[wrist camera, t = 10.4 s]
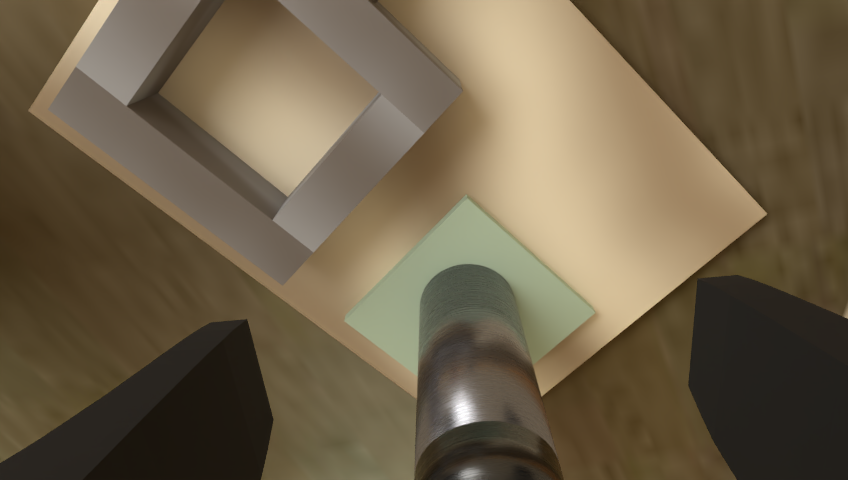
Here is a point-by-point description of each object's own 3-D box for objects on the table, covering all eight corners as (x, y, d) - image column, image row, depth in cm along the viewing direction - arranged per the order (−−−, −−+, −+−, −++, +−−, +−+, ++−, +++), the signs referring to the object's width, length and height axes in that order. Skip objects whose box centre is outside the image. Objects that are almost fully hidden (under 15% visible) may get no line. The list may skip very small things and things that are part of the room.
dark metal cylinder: (516, 344, 20) (574, 589, 12) (423, 349, 21) (419, 596, 12) (514, 260, 19) (578, 471, 11) (415, 267, 19) (405, 480, 11)
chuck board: (479, 437, 23) (484, 486, 21) (38, 107, 18) (-19, 125, 16) (881, 108, 18) (947, 126, 16) (417, -482, 13) (415, -581, 11)
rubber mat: (470, 409, 22) (470, 416, 22) (345, 314, 21) (344, 321, 20) (592, 306, 20) (595, 312, 20) (466, 194, 19) (467, 198, 18)
